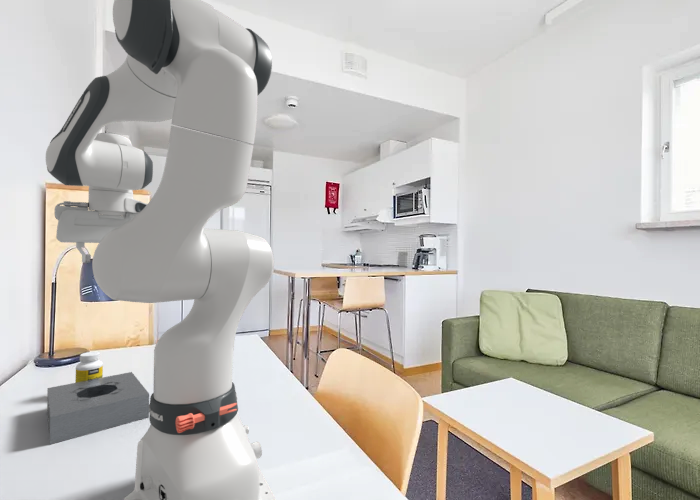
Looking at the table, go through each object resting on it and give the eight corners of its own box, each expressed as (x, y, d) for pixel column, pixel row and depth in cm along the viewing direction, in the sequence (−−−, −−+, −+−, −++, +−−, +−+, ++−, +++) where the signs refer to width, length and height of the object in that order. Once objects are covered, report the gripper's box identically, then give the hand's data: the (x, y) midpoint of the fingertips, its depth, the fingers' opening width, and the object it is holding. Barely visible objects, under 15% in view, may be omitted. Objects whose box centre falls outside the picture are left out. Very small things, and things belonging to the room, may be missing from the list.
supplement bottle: (87, 398, 84) (88, 357, 84) (69, 396, 85) (69, 356, 85) (107, 389, 89) (108, 351, 89) (90, 388, 90) (90, 350, 90)
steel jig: (148, 417, 74) (149, 393, 75) (50, 444, 64) (50, 417, 64) (131, 391, 88) (131, 371, 88) (47, 410, 77) (47, 388, 77)
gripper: (55, 199, 75) (54, 264, 75) (161, 207, 88) (160, 262, 89) (54, 200, 79) (53, 261, 80) (155, 207, 93) (154, 259, 94)
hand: (110, 261), depth 85 cm, fingers open, 8 cm apart
